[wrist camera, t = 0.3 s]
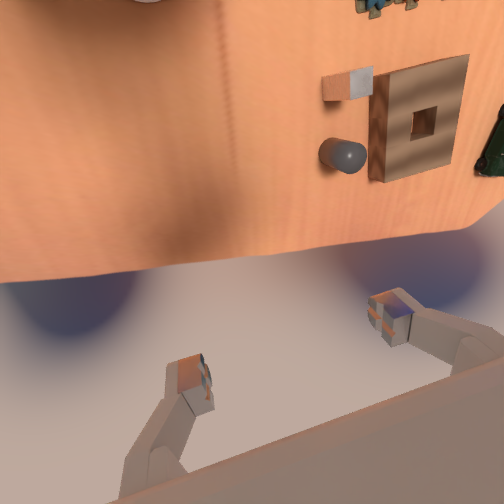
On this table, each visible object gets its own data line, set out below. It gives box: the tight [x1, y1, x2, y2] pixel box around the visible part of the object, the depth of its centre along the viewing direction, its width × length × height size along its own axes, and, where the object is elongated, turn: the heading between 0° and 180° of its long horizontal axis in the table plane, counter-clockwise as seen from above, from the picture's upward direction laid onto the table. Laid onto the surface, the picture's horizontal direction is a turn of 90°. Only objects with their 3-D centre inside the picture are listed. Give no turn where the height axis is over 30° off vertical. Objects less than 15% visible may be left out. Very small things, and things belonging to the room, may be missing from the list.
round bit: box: [318, 138, 367, 174], centre depth 54 cm, size 6×6×9 cm
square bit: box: [322, 66, 373, 101], centre depth 47 cm, size 4×4×10 cm
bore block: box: [368, 54, 470, 183], centre depth 56 cm, size 20×16×6 cm
